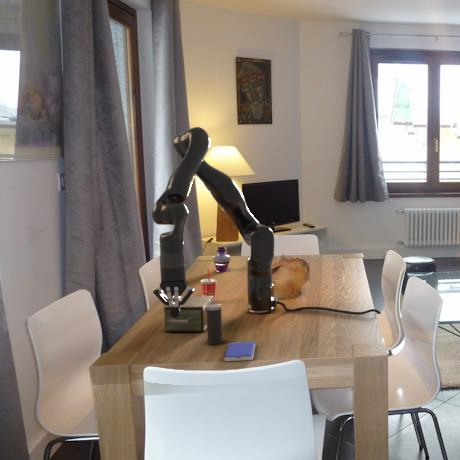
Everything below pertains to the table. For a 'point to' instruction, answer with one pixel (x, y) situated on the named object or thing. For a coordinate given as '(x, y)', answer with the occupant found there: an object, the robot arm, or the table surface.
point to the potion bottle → (221, 259)
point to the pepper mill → (214, 324)
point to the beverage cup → (209, 287)
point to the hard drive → (240, 351)
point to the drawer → (184, 320)
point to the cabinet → (195, 304)
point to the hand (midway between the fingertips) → (175, 317)
